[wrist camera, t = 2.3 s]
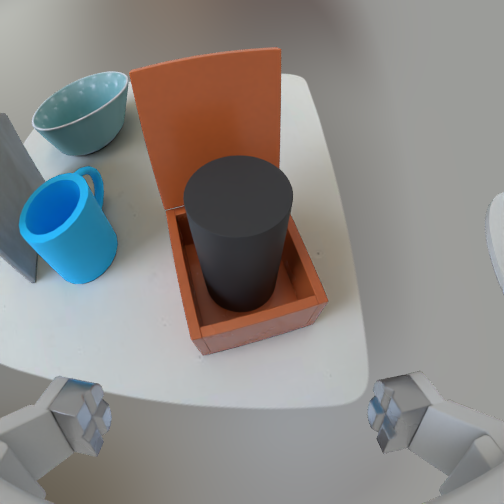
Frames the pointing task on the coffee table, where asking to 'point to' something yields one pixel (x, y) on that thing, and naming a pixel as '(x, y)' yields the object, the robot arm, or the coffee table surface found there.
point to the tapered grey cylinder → (239, 228)
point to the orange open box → (252, 322)
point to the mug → (70, 226)
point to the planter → (15, 199)
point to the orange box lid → (208, 113)
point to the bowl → (84, 113)
